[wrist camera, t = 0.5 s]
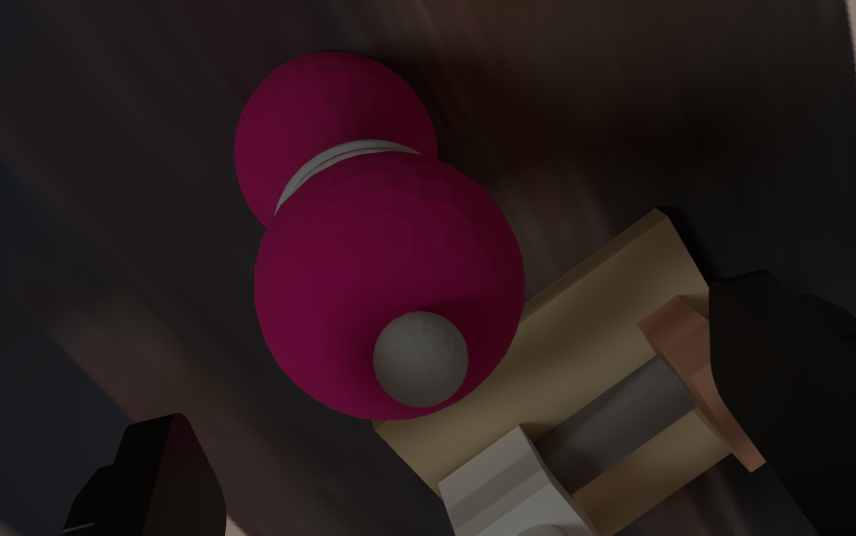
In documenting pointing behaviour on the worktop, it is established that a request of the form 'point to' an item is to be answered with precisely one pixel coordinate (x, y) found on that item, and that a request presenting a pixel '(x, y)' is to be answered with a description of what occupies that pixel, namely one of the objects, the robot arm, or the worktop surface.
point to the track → (600, 384)
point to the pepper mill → (371, 243)
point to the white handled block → (511, 494)
